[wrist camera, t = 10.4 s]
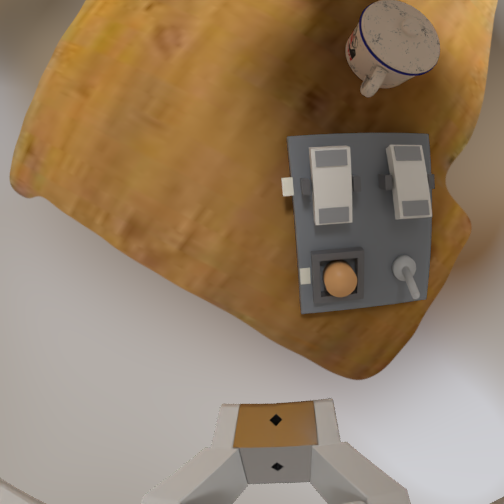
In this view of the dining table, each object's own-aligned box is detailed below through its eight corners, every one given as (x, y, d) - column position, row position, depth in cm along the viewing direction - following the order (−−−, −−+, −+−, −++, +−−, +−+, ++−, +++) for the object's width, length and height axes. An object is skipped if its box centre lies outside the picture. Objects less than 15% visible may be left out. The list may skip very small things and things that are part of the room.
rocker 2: (385, 148, 31) (390, 144, 29) (416, 148, 31) (422, 144, 29) (395, 219, 31) (400, 218, 29) (426, 217, 31) (432, 216, 29)
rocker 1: (308, 147, 30) (310, 149, 29) (346, 145, 30) (350, 147, 28) (313, 220, 34) (315, 225, 32) (349, 217, 33) (352, 223, 32)
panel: (276, 139, 35) (277, 133, 27) (418, 135, 33) (449, 131, 25) (291, 303, 41) (294, 336, 33) (417, 290, 39) (442, 317, 31)
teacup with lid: (358, 16, 29) (385, -27, 18) (418, 53, 29) (462, 25, 18) (320, 84, 32) (339, 54, 21) (385, 122, 33) (427, 111, 22)
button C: (321, 261, 35) (325, 268, 33) (352, 258, 35) (357, 265, 32) (322, 289, 36) (325, 298, 34) (352, 286, 36) (356, 295, 33)
